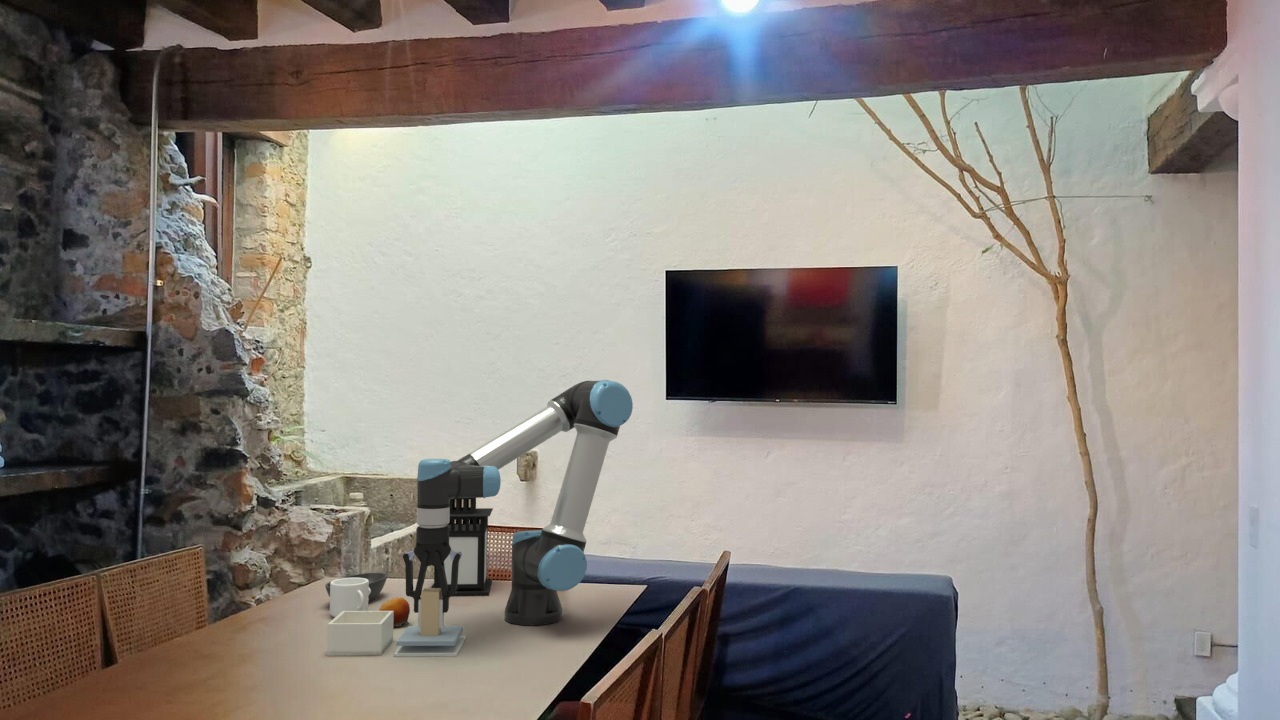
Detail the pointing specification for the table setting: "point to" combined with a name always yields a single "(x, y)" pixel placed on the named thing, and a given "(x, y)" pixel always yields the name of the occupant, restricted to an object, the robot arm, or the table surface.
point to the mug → (349, 595)
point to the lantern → (468, 548)
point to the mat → (429, 650)
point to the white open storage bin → (360, 633)
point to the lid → (430, 625)
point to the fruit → (397, 610)
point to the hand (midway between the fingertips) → (431, 626)
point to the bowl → (374, 583)
